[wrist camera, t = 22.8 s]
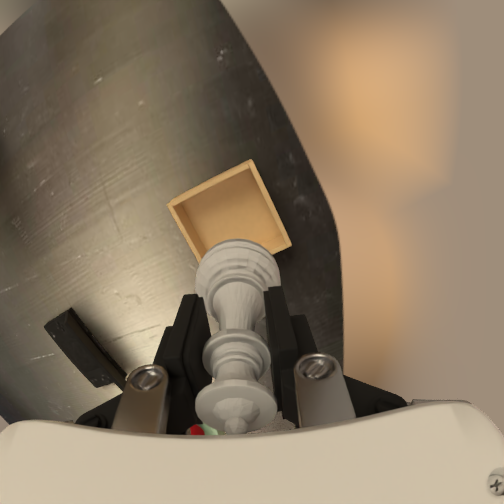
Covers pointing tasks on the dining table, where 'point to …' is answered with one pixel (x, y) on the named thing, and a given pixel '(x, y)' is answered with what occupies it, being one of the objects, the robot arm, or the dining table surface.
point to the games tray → (229, 212)
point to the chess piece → (236, 336)
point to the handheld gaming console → (85, 350)
